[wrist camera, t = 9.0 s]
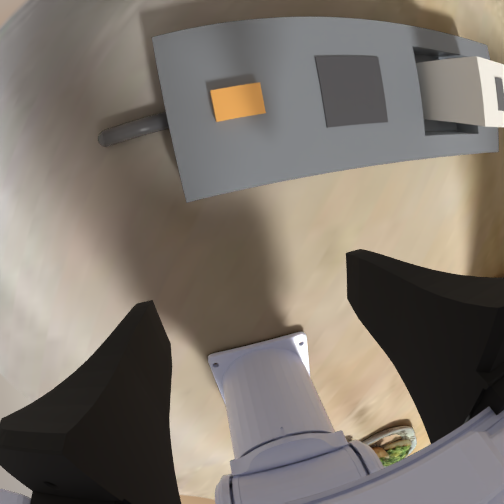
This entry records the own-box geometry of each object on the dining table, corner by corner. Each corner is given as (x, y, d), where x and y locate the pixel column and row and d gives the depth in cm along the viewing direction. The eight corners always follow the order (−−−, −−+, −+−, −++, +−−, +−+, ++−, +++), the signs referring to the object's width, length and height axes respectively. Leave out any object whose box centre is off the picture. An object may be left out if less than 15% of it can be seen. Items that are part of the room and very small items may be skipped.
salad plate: (290, 463, 34) (299, 489, 30) (408, 401, 34) (424, 425, 29) (328, 489, 42) (335, 508, 38) (414, 444, 42) (425, 461, 38)
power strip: (462, 47, 17) (492, 45, 13) (474, 146, 20) (504, 153, 17) (87, 73, 14) (65, 63, 11) (119, 209, 18) (104, 227, 15)
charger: (448, 118, 18) (518, 128, 12) (411, 118, 18) (486, 126, 12) (441, 69, 17) (511, 66, 10) (404, 64, 16) (477, 56, 10)
